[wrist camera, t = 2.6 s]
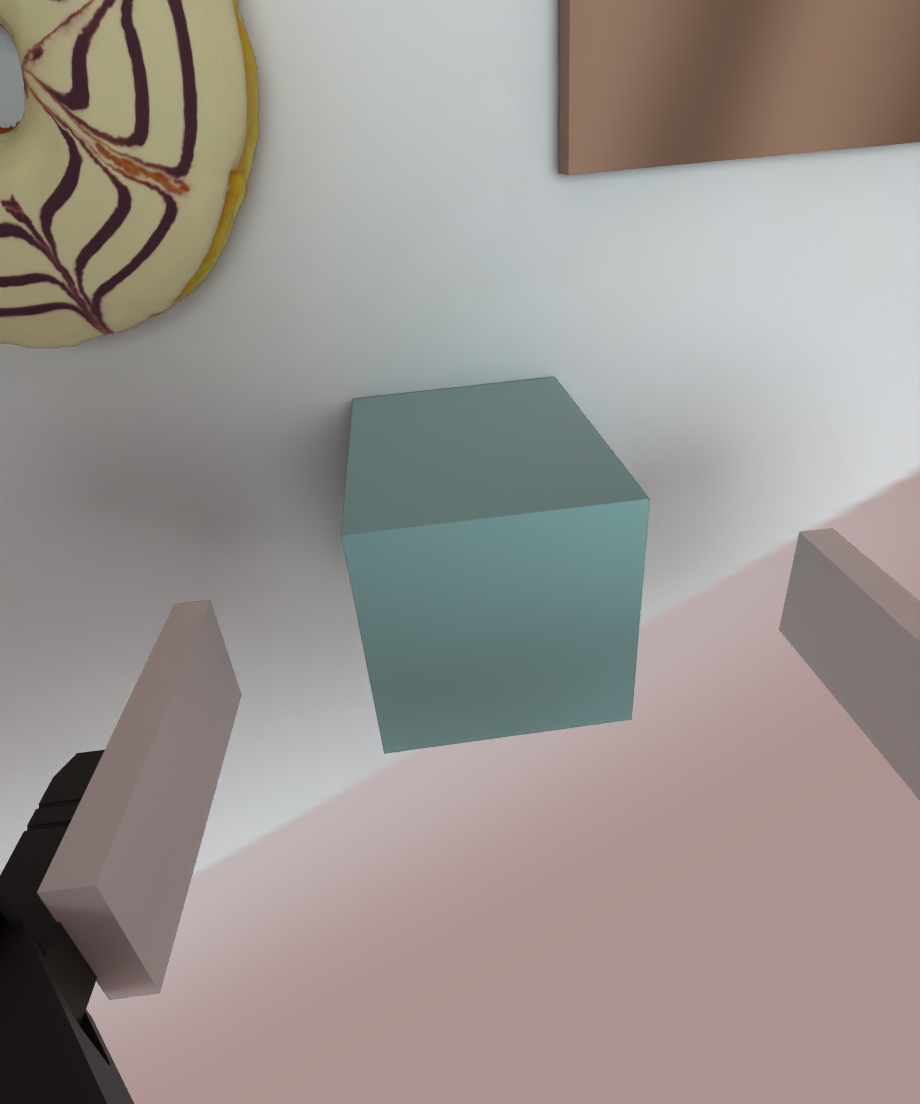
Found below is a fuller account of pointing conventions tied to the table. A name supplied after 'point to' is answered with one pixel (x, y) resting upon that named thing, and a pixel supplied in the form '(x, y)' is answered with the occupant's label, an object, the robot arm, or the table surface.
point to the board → (733, 79)
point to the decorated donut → (120, 161)
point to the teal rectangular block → (491, 563)
